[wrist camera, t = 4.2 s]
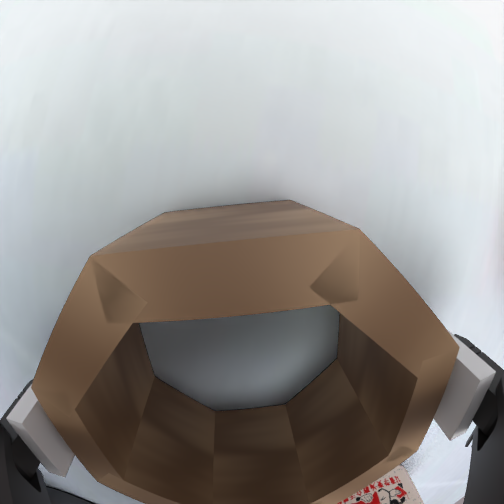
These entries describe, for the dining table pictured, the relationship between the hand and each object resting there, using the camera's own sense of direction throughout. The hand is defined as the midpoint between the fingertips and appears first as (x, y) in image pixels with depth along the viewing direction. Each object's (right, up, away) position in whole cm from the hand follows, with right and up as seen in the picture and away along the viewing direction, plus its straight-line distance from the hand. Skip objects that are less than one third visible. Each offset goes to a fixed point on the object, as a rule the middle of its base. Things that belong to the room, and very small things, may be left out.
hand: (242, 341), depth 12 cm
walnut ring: (0, 0, 0) cm, 0 cm away
